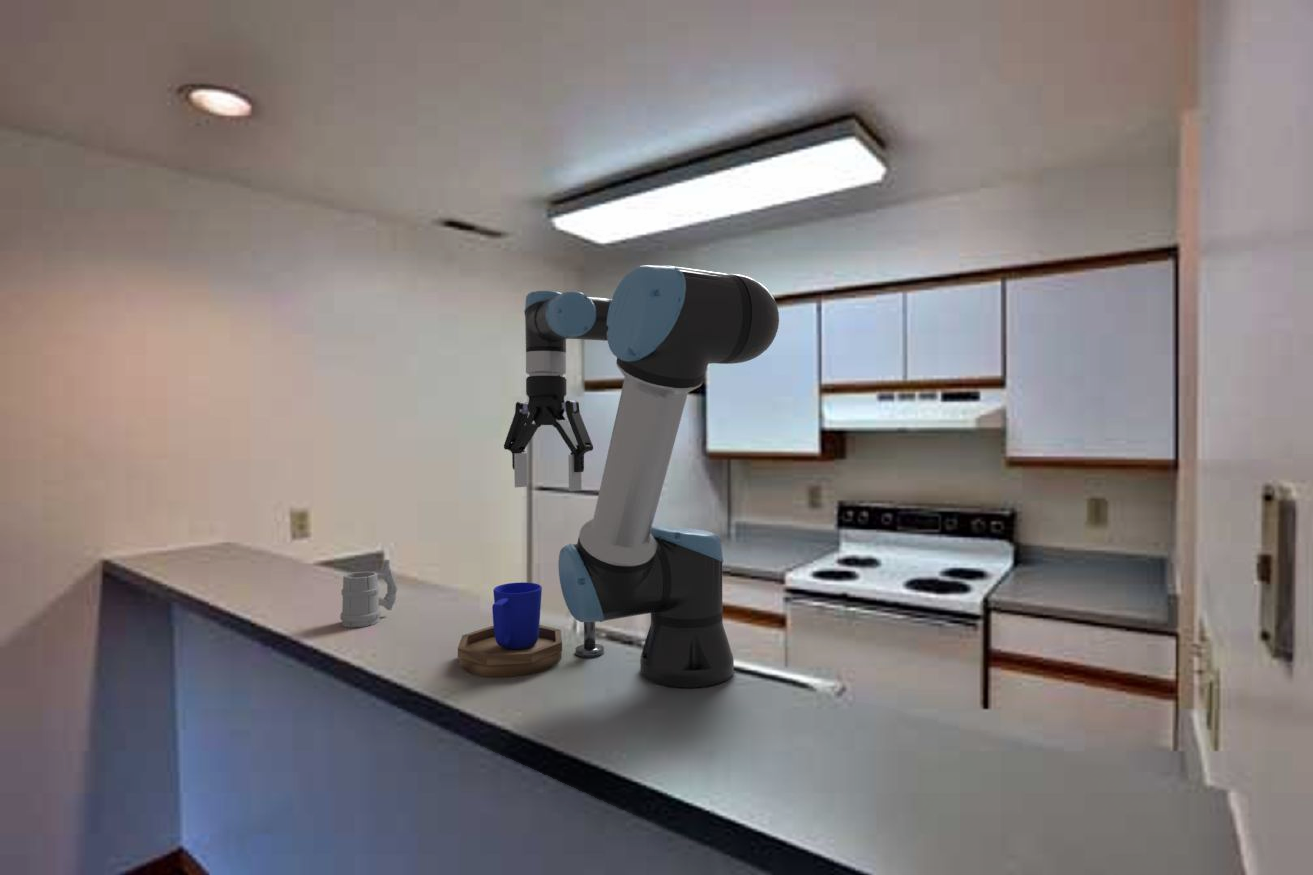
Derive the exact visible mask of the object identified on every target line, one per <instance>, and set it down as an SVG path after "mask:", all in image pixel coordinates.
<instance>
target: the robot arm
mask: <svg viewBox="0 0 1313 875" xmlns="http://www.w3.org/2000/svg"><path fill="white" fill-rule="evenodd" d="M524 304H525V306H524V307H525V308H524V311H523V312H524V318H525V321H524V322H525V324H524V326H525V328H524V329H525V373H526V375H528V376H527V377H526V378H525V395H526V396H527V397H528V402H527V401H526V402H525V401H517V402H516V403H515V407H514V409H515V410H514V411H515V412H514V415H513V418H512V421H511V424H510V427H509V429H508V433H507V435H506V438H505V442H504V444H503V449H504V450H507V451H509V452H511V455H512V456H511V457H512V463H511V464H512V465H511V466H512V470H514V488H524V487H528V453H527V452H526V450H525V449H526V448H527V446H528V445H529V443H530V441H531V440H532V438H533V436H534V435H535V433H536V432H537V430H538V428H540V427H541V426H553V427H554V428H556V430H557V432H558V434H559V436H560V437H561V438H562V439H563V441H564V443H565V444H566V445H567V448H568V449H569V450H570V453H569V454H568V491H569V492H575V491H581V490H582V473H584V471H585V470H584V469H585V454H586V453H588V452H591V451H593V450H594V445H593V442H592V441H591V438H590V435H589V432H588V430H587V428H586V425H585V422H584V420H583V417H582V415H581V412H580V403H579V401H578V400H565V397H566V395H567V378H566V377H565V376H564V375H565V374H566V373H567V340H584V341H585V340H587V341H588V340H589V341H603V342H604V341H607V344H608V347H609V348H608V349H609V350H610V351H611V353H612V354H613V355H614V356H615V357H616V361H615V362H616V366H617V368H618V370H620V371H619V372H620V373H621V374H622V375H623V377H624V380H623V382H622V387H621V392H620V395H619V396H620V397H619V400H618V406H617V409H616V415H615V420H614V424H613V429H612V433H611V437H610V442H609V447H608V451H607V455H606V459H605V460H606V461H605V465H604V468H603V474H602V477H601V483H600V488H599V492H598V497H597V500H596V505H595V510H594V514H593V518H592V519H590V520H588V521H586V522H585V523H584V524H583V525H582V526H581V528H580V530H579V533H578V539H577V543H575V544H573V543H569V544H566V545H564V546H563V547H562V548H561V549H560V551H559V554H558V562H557V564H558V565H557V566H558V567H557V568H558V577H559V583H560V588H561V594H562V596H563V599H564V602H565V605H566V607H567V609H568V612H569V613H570V615H571V616H572V617H573V618H574V620H577V621H578V622H579V623H584V622H595V623H596V622H598V623H602V622H605V621H611V620H612V621H613V620H616V619H617V620H618V619H623V618H629V617H630V618H631V617H635V616H641V615H646V614H650V625H649V628H648V632H647V634H646V638H645V642H644V645H643V648H642V651H641V653H640V660H639V661H640V663H639V666H640V670H639V671H640V674H641V675H642V677H643V678H645V679H646V680H648V681H649V682H652V683H655V684H658V685H662V686H667V687H674V688H703V687H710V686H714V685H718V684H721V683H723V682H725V681H728V680H730V679H731V677H733V675H734V671H735V670H734V669H735V668H734V667H735V665H734V663H735V662H734V654H733V652H732V650H731V645H730V643H729V639H728V637H727V634H726V629H725V628H724V624H723V623H724V622H723V563H724V558H723V548H722V545H723V544H722V541H721V538H720V536H718V535H717V534H715V533H714V532H711V531H706V530H702V529H696V528H690V527H683V526H681V527H680V526H669V525H668V526H667V525H657V526H653V524H654V520H655V517H656V513H657V509H658V506H659V502H660V498H661V494H662V490H663V488H664V487H663V486H664V483H665V479H666V476H667V471H668V469H669V465H670V461H671V457H672V453H673V451H674V450H673V449H674V446H675V443H676V438H677V435H678V430H679V427H680V424H681V421H682V420H681V419H682V415H683V413H684V408H685V406H686V402H687V398H688V394H689V393H690V392H692V391H694V390H696V389H698V388H700V387H701V386H702V385H703V382H704V381H705V380H704V379H705V375H706V373H707V369H708V365H709V364H717V365H718V364H719V365H725V364H726V365H729V364H731V365H732V364H741V363H745V362H748V361H751V360H753V359H756V358H757V357H759V356H760V355H762V354H763V353H765V351H767V350H768V348H769V347H770V346H772V343H773V342H774V339H775V338H776V336H777V332H778V329H779V326H780V325H779V324H780V314H779V309H778V304H777V302H776V300H775V298H774V297H773V294H771V292H770V291H769V290H768V288H766V286H765V285H763V284H762V283H760V282H759V281H757V280H755V279H754V278H751V277H749V276H745V275H742V274H738V273H737V274H736V273H724V272H717V271H708V270H702V269H694V268H688V267H680V266H674V265H672V264H668V265H667V264H666V265H665V264H664V265H650V264H648V265H647V264H646V265H640V266H637V267H635V268H633V269H632V270H630V271H629V272H628V273H627V274H626V275H624V277H623V278H622V279H621V281H620V282H619V283H618V284H617V286H616V288H615V290H614V293H613V295H612V297H611V299H610V298H603V297H591V296H587V294H584V293H583V292H581V291H575V290H573V291H566V292H558V291H555V290H537V291H531V292H529V293H527V295H526V298H525V303H524ZM564 413H565V414H566V416H565V414H564Z"/></svg>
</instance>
